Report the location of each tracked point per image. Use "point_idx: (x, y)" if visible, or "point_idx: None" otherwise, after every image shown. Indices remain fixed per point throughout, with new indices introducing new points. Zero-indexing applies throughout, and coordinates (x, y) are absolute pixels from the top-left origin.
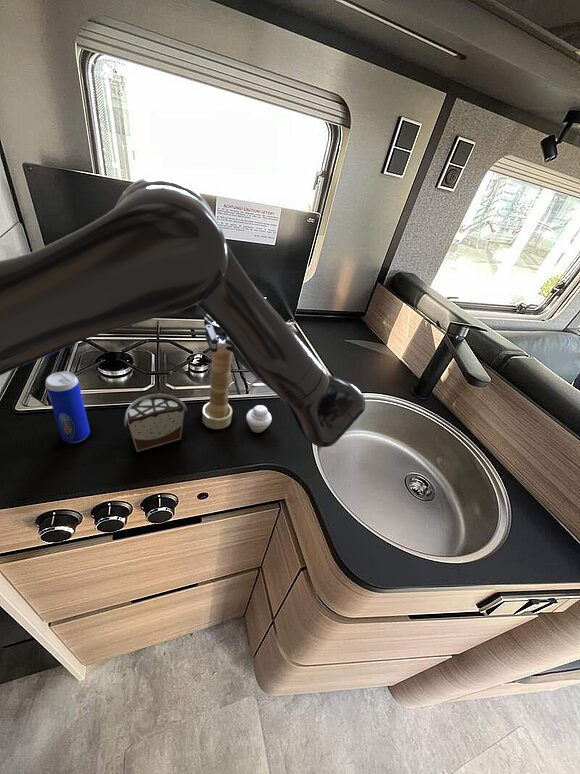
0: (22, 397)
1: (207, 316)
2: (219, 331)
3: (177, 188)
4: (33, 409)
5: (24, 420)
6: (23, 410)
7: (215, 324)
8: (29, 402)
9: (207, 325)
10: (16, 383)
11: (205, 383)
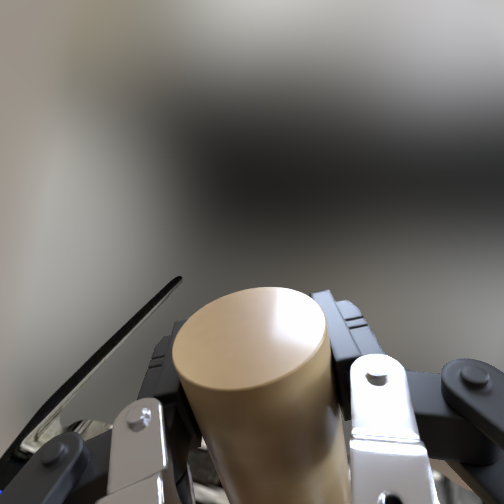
0: (48, 417)
1: (173, 334)
2: (211, 452)
3: None
4: (35, 451)
5: (5, 477)
6: (24, 449)
7: (117, 438)
8: (45, 431)
9: (53, 445)
10: (67, 384)
11: (348, 457)
